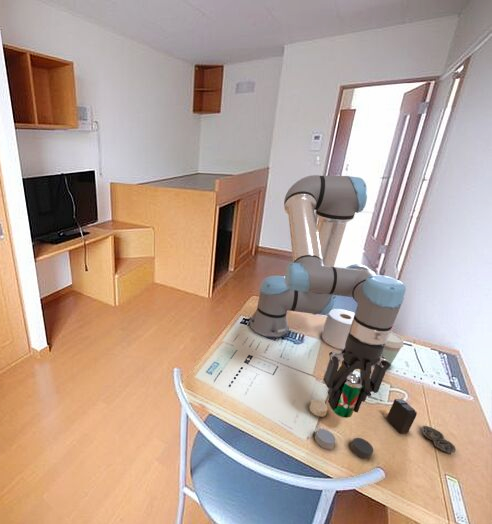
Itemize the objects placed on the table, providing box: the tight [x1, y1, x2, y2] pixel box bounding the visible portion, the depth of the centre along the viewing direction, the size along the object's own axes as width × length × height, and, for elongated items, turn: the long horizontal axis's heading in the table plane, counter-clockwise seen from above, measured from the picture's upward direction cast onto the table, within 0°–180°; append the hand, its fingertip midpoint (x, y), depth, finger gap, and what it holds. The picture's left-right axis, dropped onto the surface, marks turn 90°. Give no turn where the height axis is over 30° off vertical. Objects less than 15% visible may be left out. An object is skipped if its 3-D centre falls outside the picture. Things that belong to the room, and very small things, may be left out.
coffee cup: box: [381, 331, 404, 365], centre depth 109 cm, size 8×8×12 cm
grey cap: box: [314, 428, 336, 450], centre depth 82 cm, size 4×4×2 cm
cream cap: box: [309, 399, 329, 418], centre depth 91 cm, size 4×4×2 cm
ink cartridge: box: [386, 398, 418, 434], centre depth 85 cm, size 5×2×8 cm, turn 2°
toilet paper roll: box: [321, 308, 355, 351], centre depth 121 cm, size 12×12×12 cm
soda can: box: [331, 372, 363, 419], centre depth 82 cm, size 5×5×12 cm
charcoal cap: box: [350, 437, 374, 460], centre depth 79 cm, size 4×4×2 cm
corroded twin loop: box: [421, 425, 456, 454], centre depth 82 cm, size 5×8×1 cm, turn 3°
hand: (342, 406), depth 83 cm, fingers closed on soda can, 5 cm apart
